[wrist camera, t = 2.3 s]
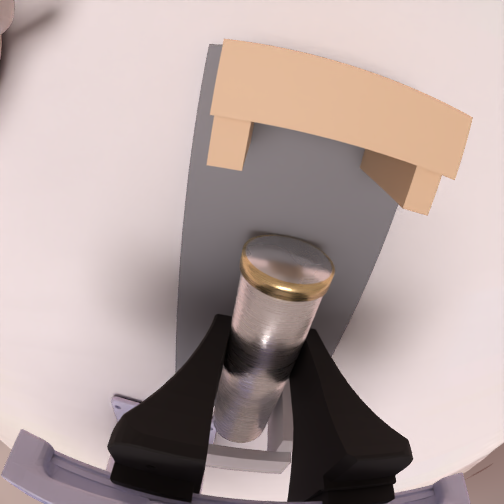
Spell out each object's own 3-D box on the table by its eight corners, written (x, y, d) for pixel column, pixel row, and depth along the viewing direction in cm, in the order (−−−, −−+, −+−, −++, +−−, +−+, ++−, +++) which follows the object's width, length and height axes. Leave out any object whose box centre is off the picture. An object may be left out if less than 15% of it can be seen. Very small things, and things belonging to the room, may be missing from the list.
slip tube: (266, 402, 17) (266, 447, 14) (214, 394, 17) (207, 439, 14) (326, 243, 12) (343, 293, 9) (245, 228, 12) (238, 275, 9)
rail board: (297, 408, 19) (300, 476, 14) (177, 391, 18) (161, 459, 14) (421, 100, 9) (508, 118, 5) (212, 46, 9) (169, 13, 5)
